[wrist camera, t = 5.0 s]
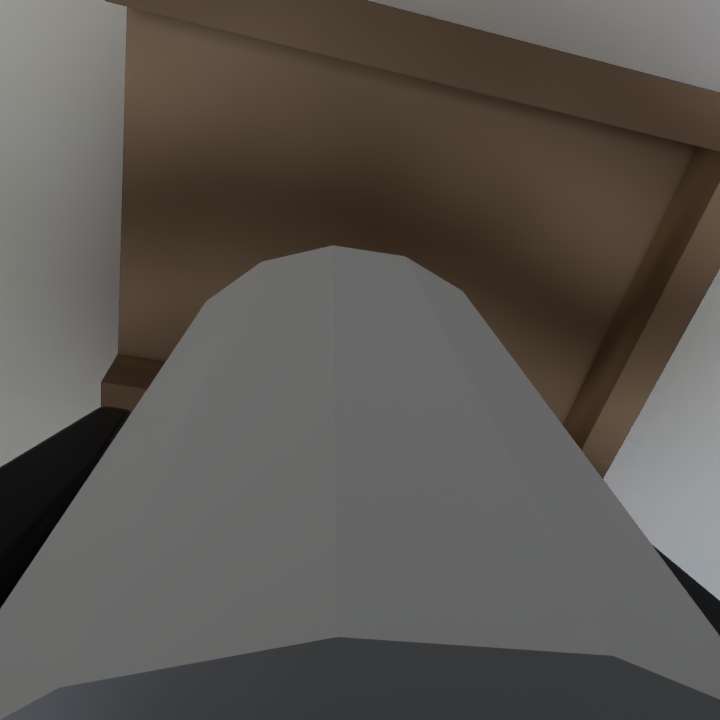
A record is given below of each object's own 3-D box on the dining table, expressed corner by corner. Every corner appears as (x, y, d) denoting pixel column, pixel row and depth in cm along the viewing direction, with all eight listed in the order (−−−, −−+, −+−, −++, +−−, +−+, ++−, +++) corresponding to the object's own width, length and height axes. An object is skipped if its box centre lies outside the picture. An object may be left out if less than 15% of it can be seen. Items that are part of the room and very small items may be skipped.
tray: (568, 437, 23) (597, 488, 20) (128, 366, 20) (101, 415, 18) (736, 98, 17) (804, 115, 14) (143, -56, 14) (105, -68, 12)
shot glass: (618, 292, 10) (1114, 783, 4) (436, 574, 13) (535, 1087, 7) (187, 130, 8) (-227, 508, 2) (102, 495, 11) (-161, 1068, 5)
